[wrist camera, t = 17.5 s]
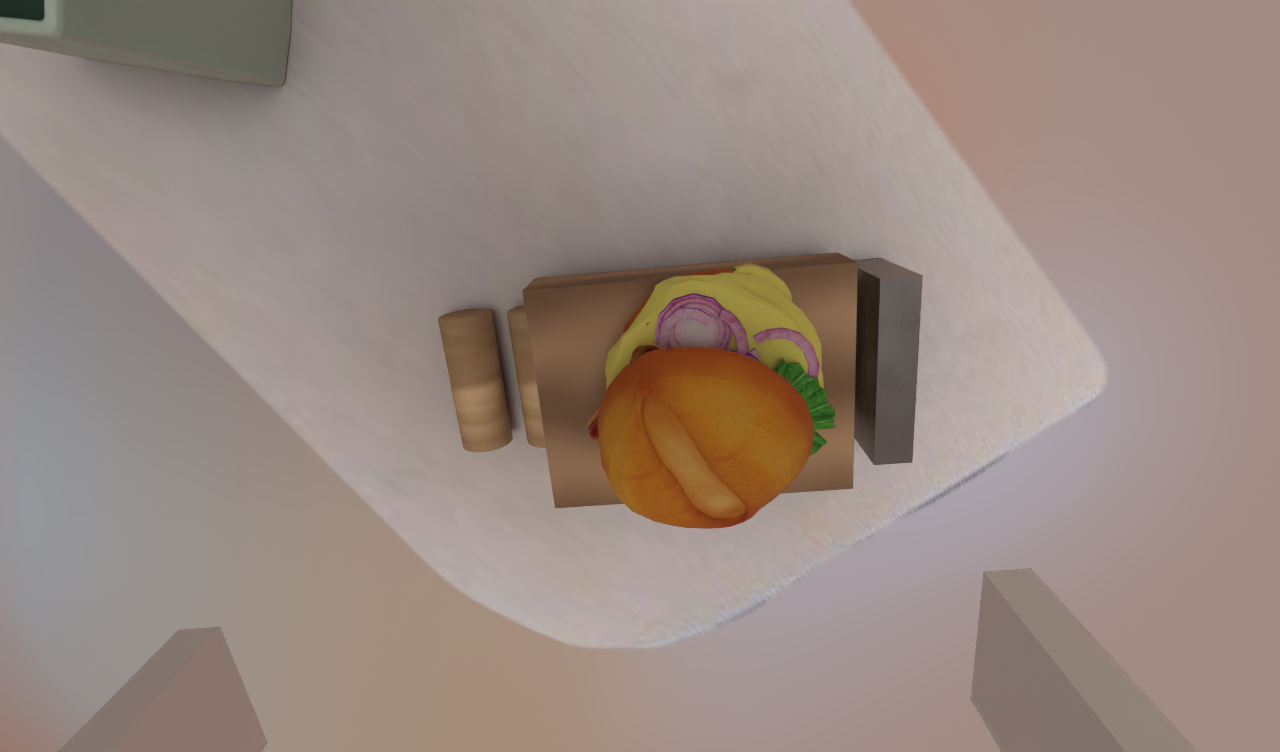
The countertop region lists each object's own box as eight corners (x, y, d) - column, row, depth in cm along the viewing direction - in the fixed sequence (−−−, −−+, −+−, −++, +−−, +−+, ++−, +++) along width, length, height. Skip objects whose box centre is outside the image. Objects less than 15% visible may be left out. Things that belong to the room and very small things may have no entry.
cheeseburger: (863, 309, 30) (915, 434, 22) (747, 458, 35) (752, 604, 27) (676, 211, 29) (653, 303, 20) (585, 382, 34) (538, 511, 26)
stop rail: (844, 261, 36) (880, 279, 30) (880, 257, 36) (922, 275, 30) (842, 421, 39) (874, 464, 33) (875, 418, 39) (912, 462, 33)
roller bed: (447, 311, 37) (430, 323, 35) (835, 279, 36) (851, 288, 33) (471, 433, 40) (456, 453, 37) (834, 407, 39) (848, 426, 36)
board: (536, 278, 34) (522, 290, 30) (837, 252, 33) (857, 262, 29) (564, 477, 37) (555, 508, 34) (835, 459, 37) (852, 488, 33)
